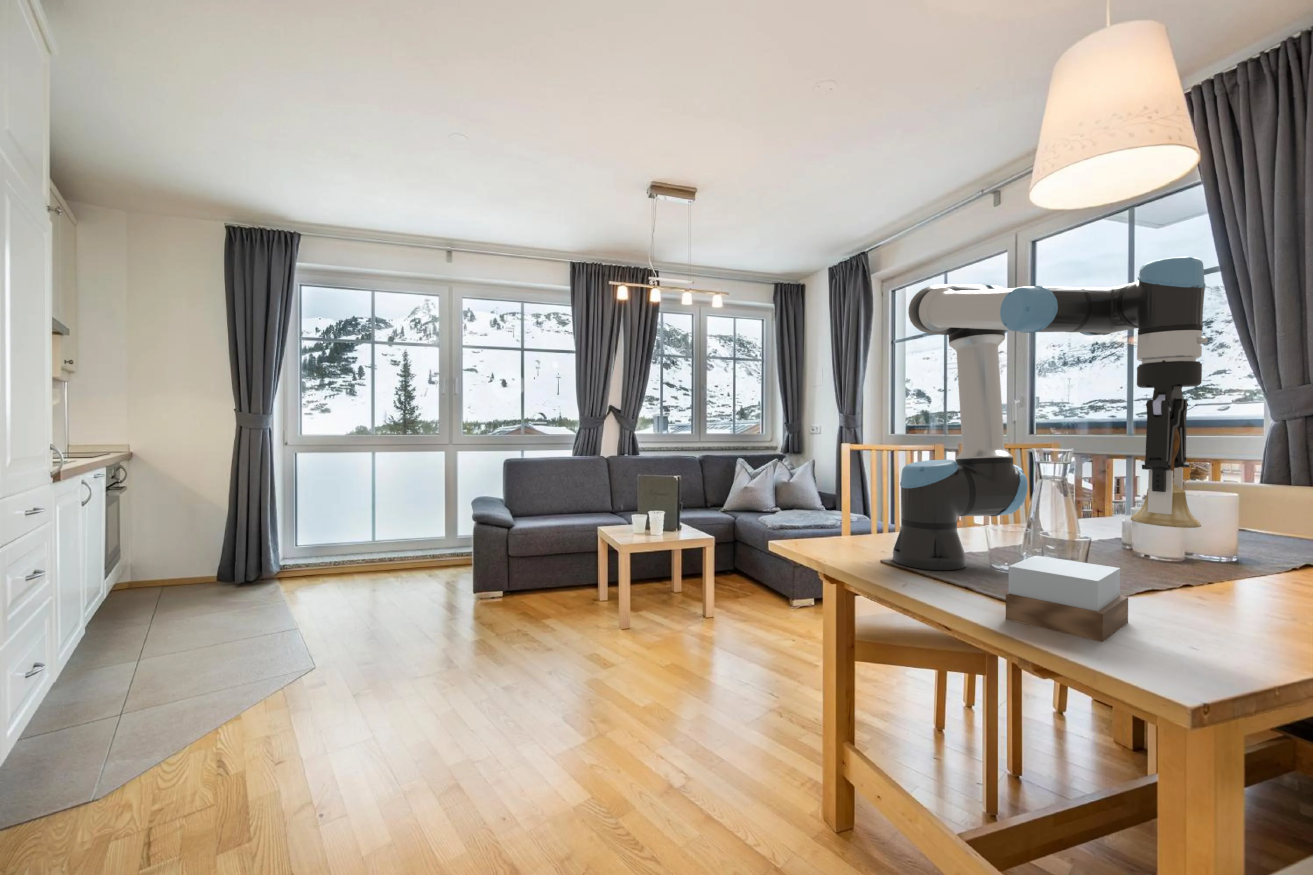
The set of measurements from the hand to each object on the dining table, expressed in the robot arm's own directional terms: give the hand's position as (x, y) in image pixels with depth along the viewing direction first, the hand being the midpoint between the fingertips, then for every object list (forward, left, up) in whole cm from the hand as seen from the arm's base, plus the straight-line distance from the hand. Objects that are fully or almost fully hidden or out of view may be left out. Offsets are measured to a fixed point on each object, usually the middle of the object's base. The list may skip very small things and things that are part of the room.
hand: (1165, 510), depth 90 cm
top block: (-11, -8, -14) cm, 20 cm away
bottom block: (-11, -8, -19) cm, 23 cm away
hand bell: (0, 0, -2) cm, 2 cm away
